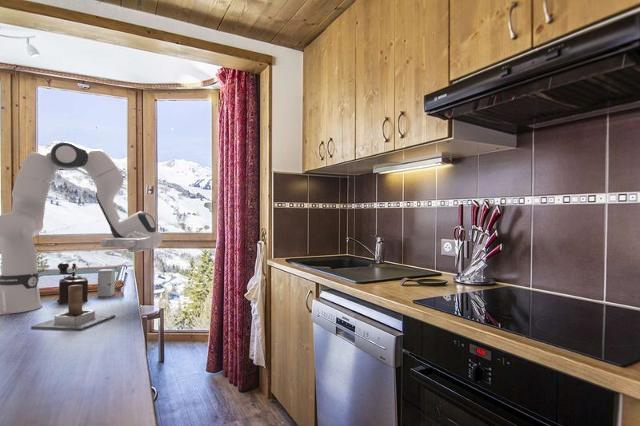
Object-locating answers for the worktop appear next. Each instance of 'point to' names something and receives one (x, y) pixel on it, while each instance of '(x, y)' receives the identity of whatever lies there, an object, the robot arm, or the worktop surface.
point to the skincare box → (106, 282)
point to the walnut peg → (75, 300)
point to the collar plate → (73, 321)
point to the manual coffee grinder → (71, 283)
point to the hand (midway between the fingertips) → (113, 244)
